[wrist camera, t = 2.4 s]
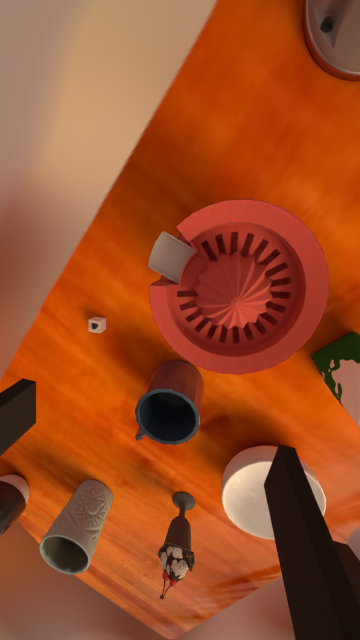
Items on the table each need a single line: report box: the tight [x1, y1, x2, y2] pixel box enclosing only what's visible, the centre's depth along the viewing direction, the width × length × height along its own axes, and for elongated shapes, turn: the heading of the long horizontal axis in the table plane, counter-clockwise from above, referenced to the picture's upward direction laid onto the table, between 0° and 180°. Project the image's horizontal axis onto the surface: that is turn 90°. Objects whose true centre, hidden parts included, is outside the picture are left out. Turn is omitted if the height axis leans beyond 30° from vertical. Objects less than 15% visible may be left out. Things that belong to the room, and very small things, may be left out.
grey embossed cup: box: [40, 480, 113, 575], centre depth 49 cm, size 10×10×12 cm
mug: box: [135, 360, 204, 445], centre depth 39 cm, size 13×10×10 cm
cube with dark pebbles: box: [89, 317, 106, 333], centre depth 41 cm, size 2×2×2 cm
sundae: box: [158, 492, 195, 599], centre depth 44 cm, size 7×7×15 cm
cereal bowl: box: [221, 445, 326, 539], centre depth 42 cm, size 17×17×7 cm
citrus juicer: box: [148, 199, 329, 374], centre depth 27 cm, size 16×17×20 cm
